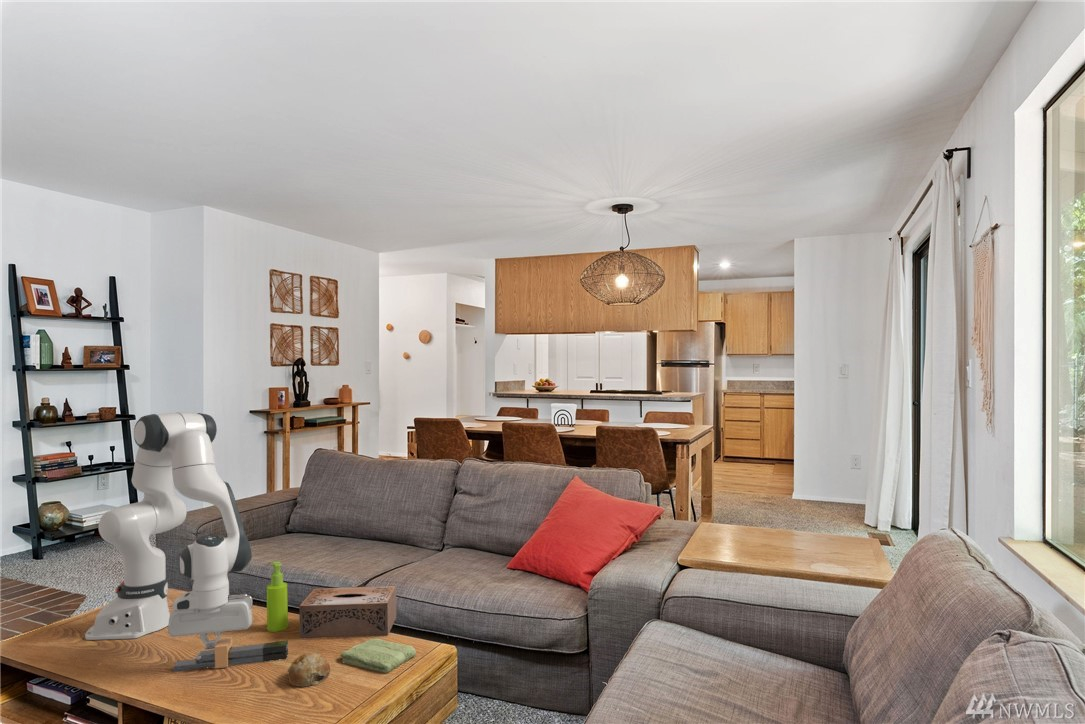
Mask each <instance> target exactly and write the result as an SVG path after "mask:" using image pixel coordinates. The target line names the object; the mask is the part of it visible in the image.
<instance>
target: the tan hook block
mask: <svg viewBox="0 0 1085 724" xmlns="http://www.w3.org/2000/svg"><path fill="white" fill-rule="evenodd" d="M231 647H233V636H226V637H223V636H222V637H220V638H219V640H218V643H217V644H216V646H215V649H214V650H215V667H214V669H221V668H223V669H224V668H228V667H229V666H228V651H229V649H230V648H231Z"/></svg>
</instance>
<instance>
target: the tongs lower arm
mask: <svg viewBox="0 0 1085 724" xmlns="http://www.w3.org/2000/svg"><path fill="white" fill-rule="evenodd" d="M288 654H289V647H288V648H287V650H286V651H282V652H274V653H266V654H256V655H248V656H240V657H232V658H228V667H229V666H237V665H246V664H255V663H261V662H262V663H264V662H265V661H266V662H271V661H270V660H274V661H280V660H279V659H283V660H287V659H286V658H288V656H289V655H288ZM287 655H288V656H287ZM207 667H208V668H207ZM209 667H213V668H215V660H208V661H200V662H196V661H195V658H194V659H185V660H177V661H176V662H175V663H174V665H173V673H176V672H185V671H186V672H187V671H193V670H202V669H201V668H204V669H210V668H209Z"/></svg>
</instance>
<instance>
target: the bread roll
mask: <svg viewBox="0 0 1085 724" xmlns="http://www.w3.org/2000/svg"><path fill="white" fill-rule="evenodd" d="M286 672H287V677H288V682H289V683H291V685H292V686H294V687H295V686H296V687H299V688H300V687H301V688H304V687H305V688H307V687H310V686H311V687H312V686H313V687H316V686H317V685H318V684H320V683H322V682H323V681H325V679H328V677H329V675H330V672H331V666H330V662H328V660H327V659H326V658H325V657H324V656H323V655H322V654H321V653H316V652H315V653H314V652H308V653H304V654H302V655H299V656H298V657H296V659H294V661H292V662H291V665H290V666H288V669H287V671H286Z"/></svg>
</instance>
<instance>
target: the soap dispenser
mask: <svg viewBox="0 0 1085 724" xmlns="http://www.w3.org/2000/svg"><path fill="white" fill-rule="evenodd" d="M268 565H272V566H273V573H271V575H270V584H268V585H266V630H267V631H268V632H271V633H272V632H273V633H274V632H275V633H276V632H281V631H285V630H286V629H287V628H288V627H289V622H288V621H289V620H288V618H289V616H288V615H289V614H288V606H289V603H288V583H287V582H284V573H283V572H282V571H281V567H283V566H282V565H283V564H282V563H281V562H280V561H278V560H273V561H269V562H268Z"/></svg>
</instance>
